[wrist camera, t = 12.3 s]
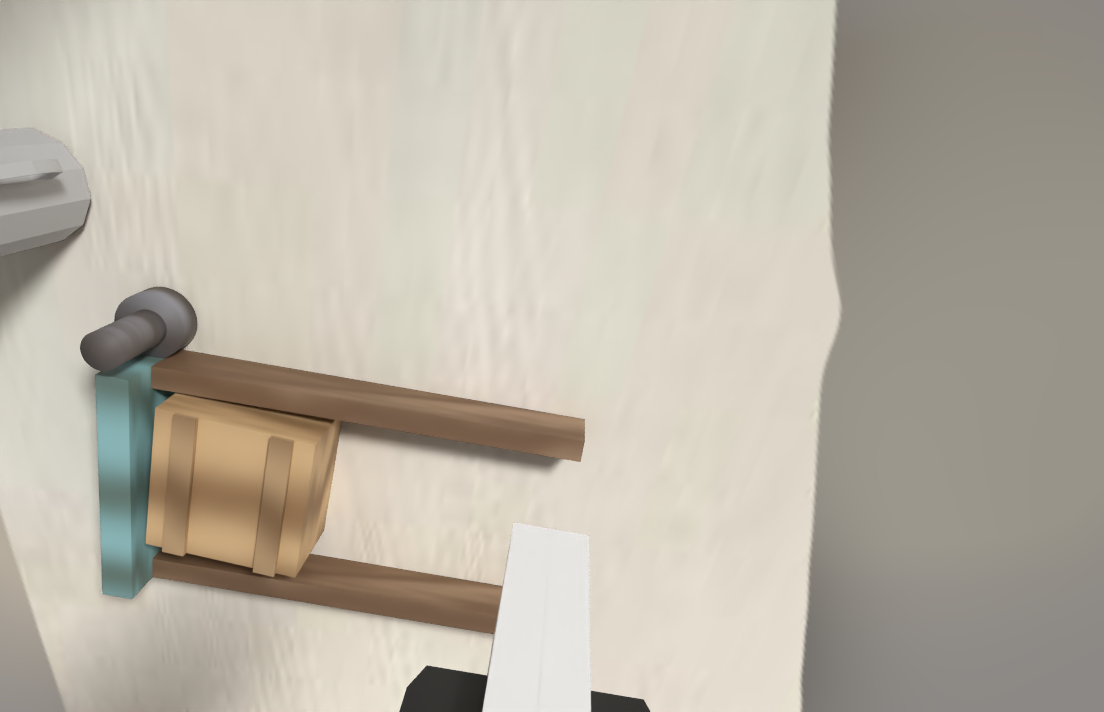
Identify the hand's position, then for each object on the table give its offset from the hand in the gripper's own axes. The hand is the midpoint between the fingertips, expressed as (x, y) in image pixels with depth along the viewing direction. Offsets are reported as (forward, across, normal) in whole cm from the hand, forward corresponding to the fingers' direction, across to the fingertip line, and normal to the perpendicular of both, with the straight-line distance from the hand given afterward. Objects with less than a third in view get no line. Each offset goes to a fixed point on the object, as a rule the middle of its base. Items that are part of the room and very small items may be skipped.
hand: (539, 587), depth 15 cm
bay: (+34, -13, -17) cm, 40 cm away
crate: (+35, -19, -18) cm, 43 cm away
